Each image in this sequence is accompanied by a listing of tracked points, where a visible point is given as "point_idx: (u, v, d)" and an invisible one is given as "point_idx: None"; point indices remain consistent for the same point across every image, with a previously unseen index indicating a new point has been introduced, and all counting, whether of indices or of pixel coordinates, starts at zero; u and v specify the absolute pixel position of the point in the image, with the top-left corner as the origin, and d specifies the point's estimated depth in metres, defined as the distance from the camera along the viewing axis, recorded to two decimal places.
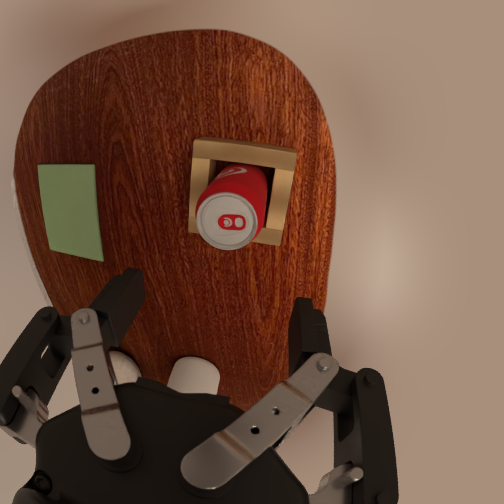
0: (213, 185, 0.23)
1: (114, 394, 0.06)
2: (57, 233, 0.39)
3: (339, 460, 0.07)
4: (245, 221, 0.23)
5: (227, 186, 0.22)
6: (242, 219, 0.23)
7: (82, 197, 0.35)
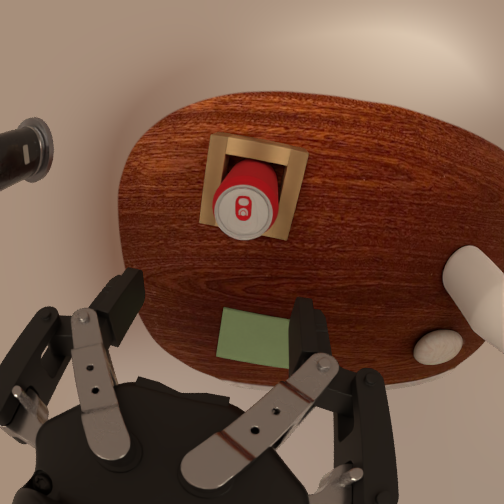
0: None
1: (114, 394, 0.06)
2: (281, 357, 0.50)
3: (339, 460, 0.07)
4: (241, 196, 0.23)
5: (213, 207, 0.25)
6: (239, 198, 0.23)
7: (251, 325, 0.46)
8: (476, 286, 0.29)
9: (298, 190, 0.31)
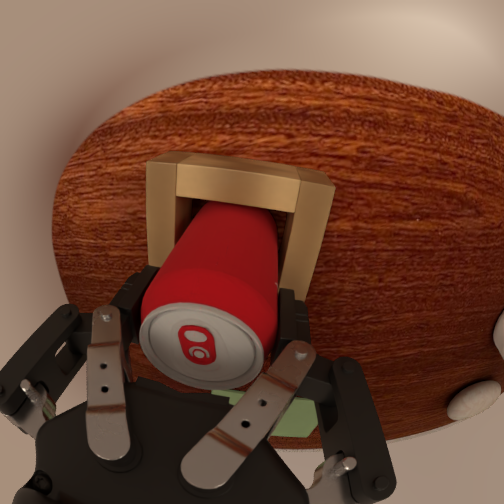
0: None
1: (123, 395, 0.06)
2: (289, 429, 0.36)
3: (329, 450, 0.08)
4: (188, 327, 0.10)
5: None
6: (185, 331, 0.10)
7: None
8: None
9: (315, 256, 0.17)
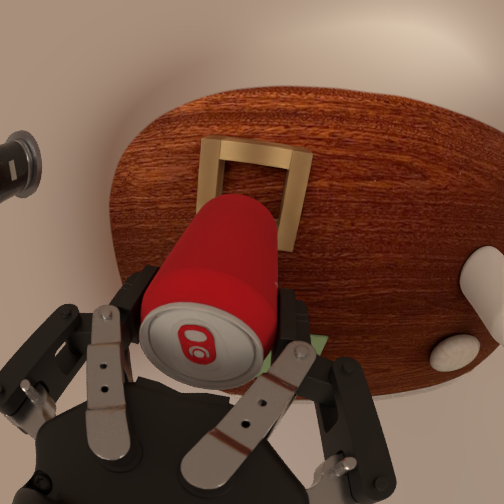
0: None
1: (123, 395, 0.06)
2: None
3: (329, 450, 0.08)
4: (188, 326, 0.10)
5: None
6: (185, 330, 0.10)
7: None
8: (496, 291, 0.24)
9: (303, 196, 0.27)
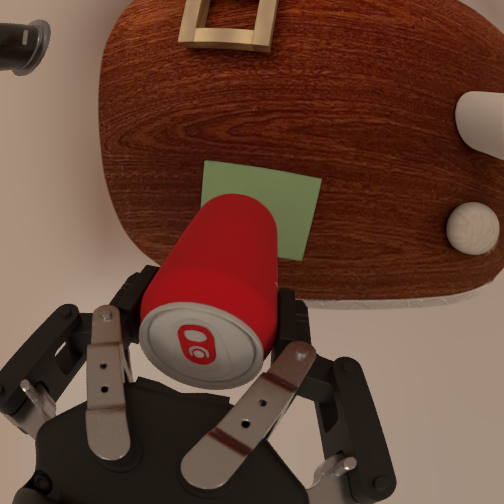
0: None
1: (123, 395, 0.06)
2: (281, 238, 0.40)
3: (329, 450, 0.08)
4: (188, 326, 0.10)
5: None
6: (184, 330, 0.10)
7: (239, 183, 0.37)
8: (493, 103, 0.19)
9: (275, 2, 0.21)
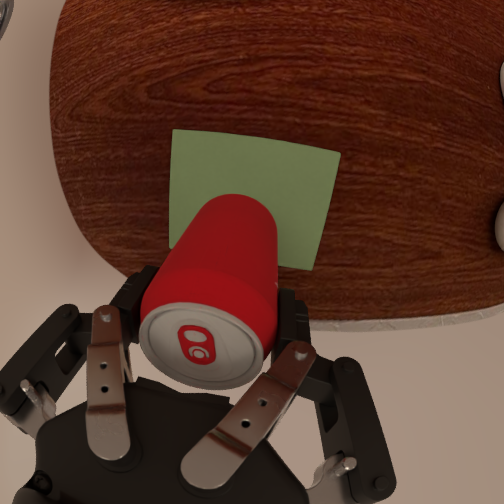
0: None
1: (123, 395, 0.06)
2: (283, 239, 0.28)
3: (329, 450, 0.08)
4: (188, 327, 0.10)
5: None
6: (185, 331, 0.10)
7: (221, 160, 0.25)
8: None
9: None
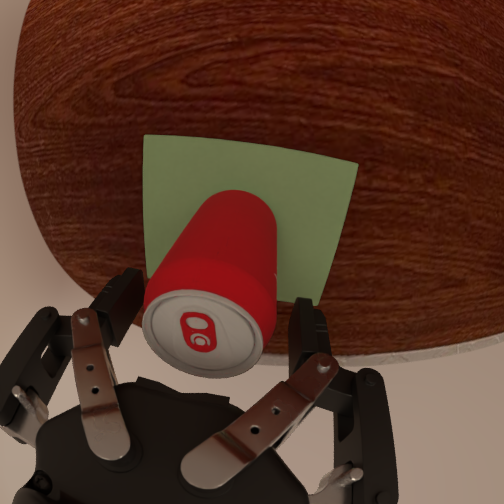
0: None
1: (114, 394, 0.06)
2: (283, 270, 0.23)
3: (339, 460, 0.07)
4: (190, 313, 0.10)
5: None
6: (187, 317, 0.10)
7: (205, 173, 0.19)
8: None
9: None
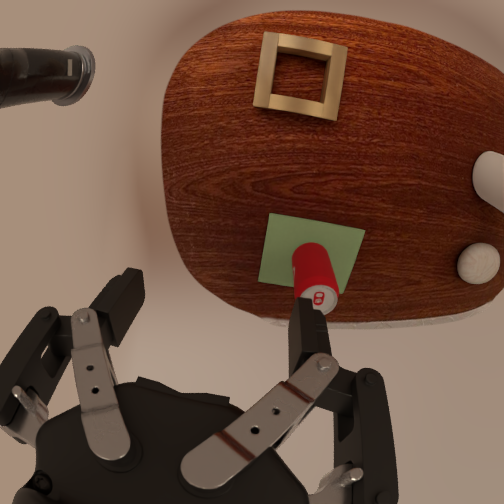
0: None
1: (114, 394, 0.06)
2: None
3: (339, 460, 0.07)
4: (318, 292, 0.35)
5: (296, 296, 0.36)
6: (317, 293, 0.35)
7: (298, 233, 0.44)
8: None
9: (342, 76, 0.29)
